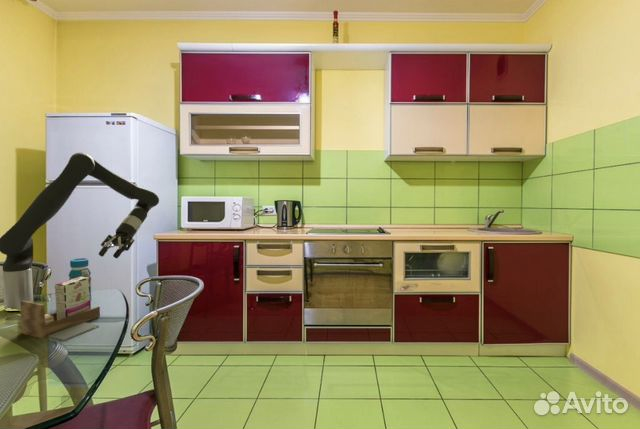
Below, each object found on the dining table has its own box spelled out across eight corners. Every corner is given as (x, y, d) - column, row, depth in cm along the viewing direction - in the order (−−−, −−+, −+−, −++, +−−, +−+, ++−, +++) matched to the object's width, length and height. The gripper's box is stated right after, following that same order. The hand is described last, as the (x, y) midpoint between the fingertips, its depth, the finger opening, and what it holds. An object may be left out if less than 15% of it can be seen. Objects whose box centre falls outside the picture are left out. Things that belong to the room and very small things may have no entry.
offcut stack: (31, 333, 124) (31, 318, 124) (46, 327, 129) (46, 313, 128) (41, 335, 122) (41, 321, 122) (56, 330, 127) (56, 316, 127)
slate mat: (48, 337, 121) (48, 335, 121) (83, 323, 134) (83, 322, 134) (64, 341, 119) (64, 339, 119) (99, 326, 131) (98, 325, 131)
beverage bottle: (68, 307, 150) (66, 262, 148) (70, 301, 157) (69, 258, 155) (91, 304, 154) (89, 260, 152) (92, 298, 161) (91, 256, 160)
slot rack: (21, 333, 124) (20, 301, 123) (81, 312, 144) (80, 284, 143) (42, 338, 120) (41, 305, 119) (100, 316, 141) (100, 288, 140)
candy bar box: (81, 314, 142) (80, 276, 141) (91, 316, 141) (90, 277, 140) (55, 325, 131) (54, 283, 130) (66, 327, 130) (64, 284, 129)
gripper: (112, 221, 158) (89, 250, 148) (136, 223, 153) (114, 253, 143) (122, 231, 163) (101, 259, 153) (146, 233, 158) (125, 262, 149)
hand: (107, 256), depth 148 cm, fingers open, 8 cm apart
